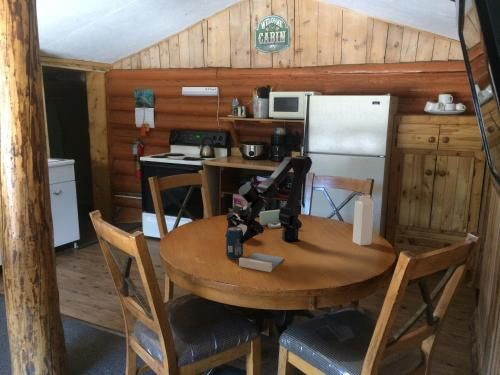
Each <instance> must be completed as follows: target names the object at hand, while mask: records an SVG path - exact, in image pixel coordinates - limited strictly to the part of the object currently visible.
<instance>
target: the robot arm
mask: <svg viewBox="0 0 500 375" xmlns="http://www.w3.org/2000/svg"><path fill="white" fill-rule="evenodd" d="M312 165H313V161H312V159H311V156H307V155H300V154H299V155H298V154H297V155H296V156H285V157H284V158H283V160H282V162H281V163H280V164H279V166H278V167H277V168H276V169H275V170H274V171H273V173H272V174H271V175H270V177H269V178H267V179H265V180H263V181H262V182H261V183H259V184H258V185H257V186H255V185H254V183H253V182H251V181H250V182H249V181H248V182H247V183H245V184H243V185H242V186H240V188H239V189H238V195H241V196H242V197H243V199H244V200H245V201H246V202H247V203H249V205H248V206H244V207H239V206H236V205H234V207H233V206H232V210H231V212H229V213H227V214H226V215H225V220H226V221H227V228H226V232H227V230H228V228H229V227H237V226H239V225H240V224H242V225H245V226H247V230H246V232H245V233H244V235H243V237H242V238H241V240H240V243H241V244H242V243H243V244H244V243H245V242H247V241H248V240H250V239H252V238H254V237H256V236H260V235H262V234H264V231H265V227H264V225H261V224H260V221H259V220H256V219H260V212H262V210H263V208H269V202H268V200H270V199H271V200H272V199H273V198H275V195H276V194H277V192H278V187H279V185H280V184H281V182H282V181H283V180H284V179H285V177H287V175H288V174H289V172H291V170H292V172H293V176H292V180H291V184H290V188H289V191H288V192H289V193H288V195H287V199H286V204H285V205H283V206H280V208H279V210H280V212H279V214H278V215H279V220H280V224H281V227H283V228H282V230H281V231H282V232H281V239H282V240H283V241H285V242H286V243H291V242H292V243H293V242H300V241H301V240H300V238H299V230H300V229H301V228H302V227H303V222H302V221H301V220H300V219H299V213H300V212H299V211H298V203H299V201H300V200H299V199H300V195H301V191H302V189H303V184H304V180H305V177H306V176H307V174H308V173H309V172H310V170H311V167H312ZM266 199H268V200H266ZM233 213H236V214H238V215H237V216H238V217H240V219H239V218H238V217H237V216H236V215H235V214H233ZM226 232H225V233H226ZM225 238H226V234H225Z"/></svg>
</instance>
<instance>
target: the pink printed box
mask: <svg viewBox="0 0 500 375" xmlns="http://www.w3.org/2000/svg"><path fill="white" fill-rule="evenodd" d="M234 205H236V206H239V207H244V206H248V205H249V203H247V202H246V201H245V200H244V199H243V197H242V196H241V195H240V194H235V193H233V194H232V208H233V207H234ZM232 214H235V215H236V213H232Z"/></svg>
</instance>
